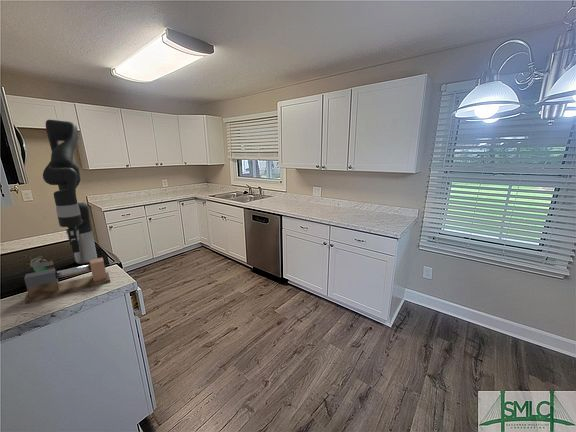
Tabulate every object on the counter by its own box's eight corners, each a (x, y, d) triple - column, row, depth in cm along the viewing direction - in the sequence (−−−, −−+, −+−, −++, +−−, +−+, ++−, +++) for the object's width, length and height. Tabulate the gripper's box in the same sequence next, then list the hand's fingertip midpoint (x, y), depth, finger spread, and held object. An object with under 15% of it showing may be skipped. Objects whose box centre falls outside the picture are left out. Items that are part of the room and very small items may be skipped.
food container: (29, 279, 118) (24, 259, 115) (46, 273, 123) (41, 255, 121) (40, 285, 112) (35, 265, 110) (57, 279, 118) (53, 260, 115)
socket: (93, 281, 113) (90, 263, 111) (93, 277, 117) (89, 260, 115) (106, 278, 117) (103, 261, 114) (105, 274, 121) (102, 257, 118)
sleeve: (26, 287, 99) (24, 278, 98) (28, 283, 103) (25, 274, 102) (56, 280, 105) (54, 271, 104) (57, 276, 109) (55, 268, 108)
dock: (25, 303, 98) (22, 291, 97) (29, 293, 106) (25, 281, 104) (110, 281, 116) (108, 270, 114) (108, 274, 123) (106, 263, 122)
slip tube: (48, 281, 104) (46, 274, 103) (49, 278, 106) (47, 272, 105) (98, 269, 115) (97, 263, 114) (97, 267, 117) (96, 261, 116)
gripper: (80, 216, 102) (87, 252, 106) (80, 210, 113) (86, 243, 117) (56, 219, 98) (64, 256, 102) (58, 212, 108) (65, 246, 112)
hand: (76, 249), depth 109 cm, fingers open, 8 cm apart
